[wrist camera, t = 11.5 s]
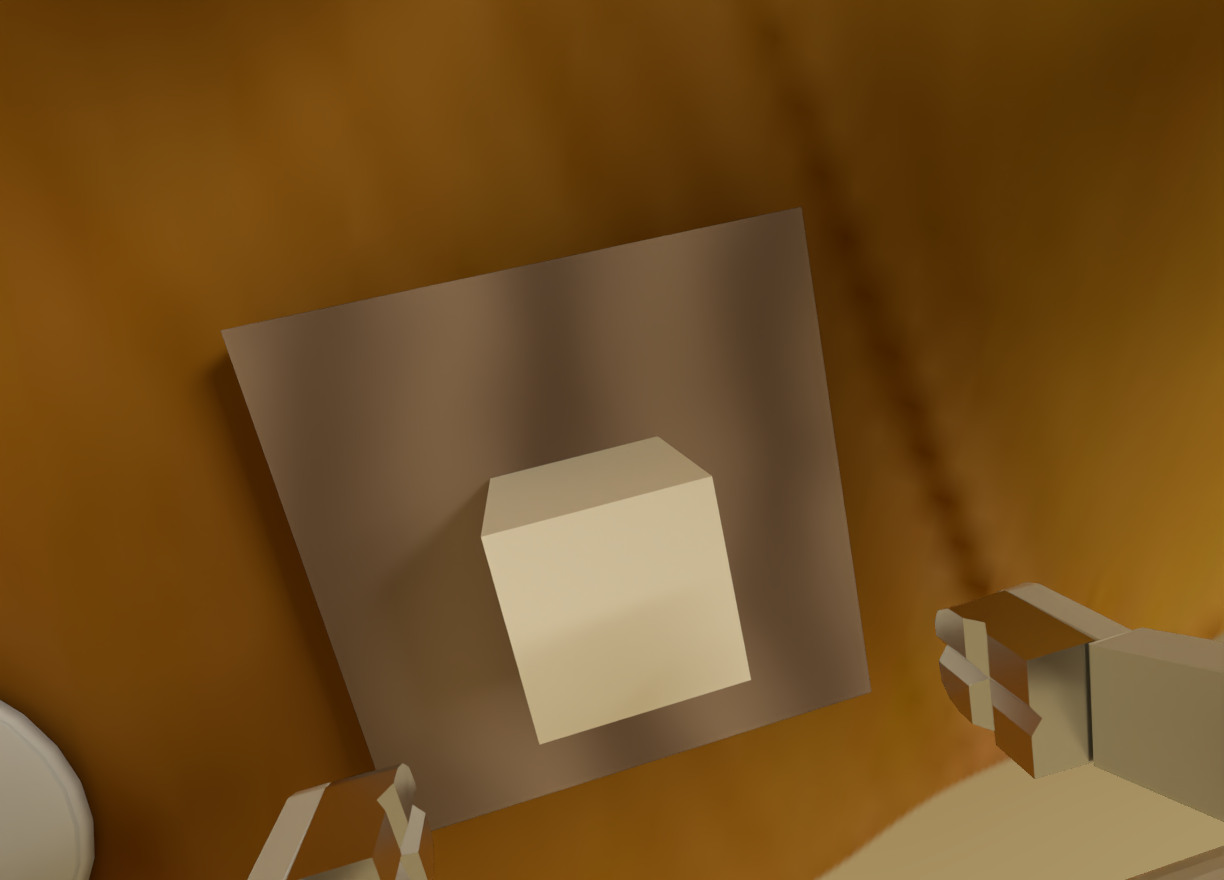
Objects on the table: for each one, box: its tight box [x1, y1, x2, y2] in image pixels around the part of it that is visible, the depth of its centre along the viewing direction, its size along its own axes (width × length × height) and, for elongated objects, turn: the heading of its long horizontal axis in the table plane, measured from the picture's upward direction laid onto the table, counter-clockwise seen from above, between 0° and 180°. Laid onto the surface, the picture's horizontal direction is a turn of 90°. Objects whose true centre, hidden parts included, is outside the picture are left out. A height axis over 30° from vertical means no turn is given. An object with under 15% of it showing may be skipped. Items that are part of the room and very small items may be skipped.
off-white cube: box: [481, 436, 751, 745], centre depth 15 cm, size 5×5×5 cm
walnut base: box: [221, 207, 871, 831], centre depth 19 cm, size 16×16×2 cm
